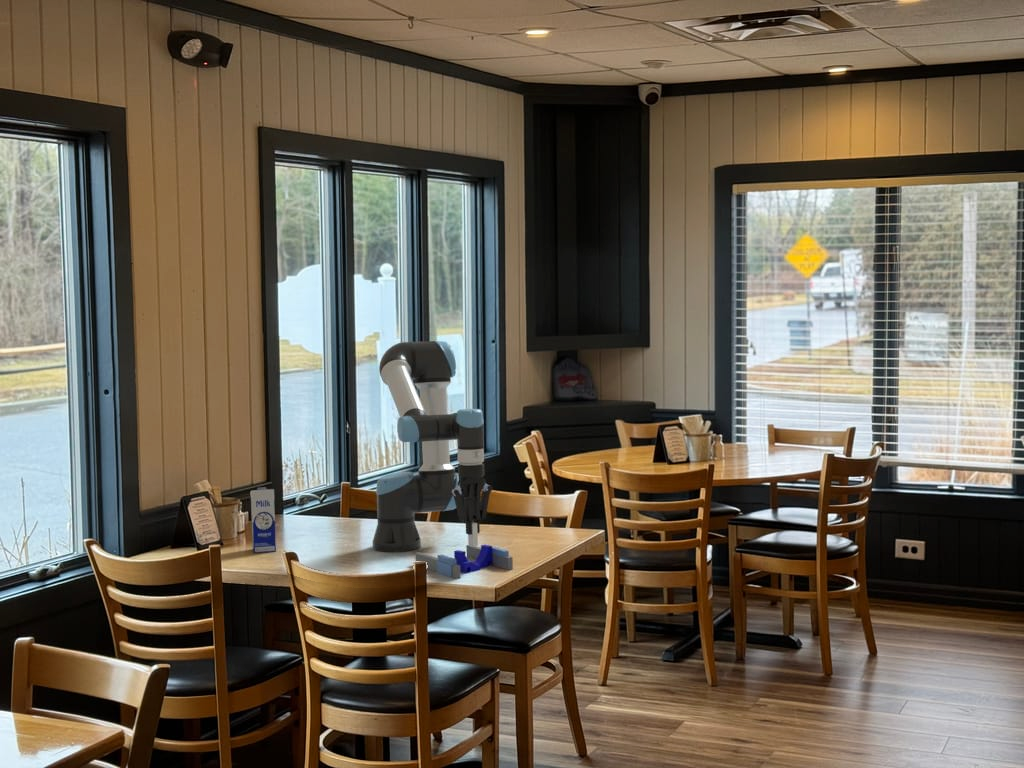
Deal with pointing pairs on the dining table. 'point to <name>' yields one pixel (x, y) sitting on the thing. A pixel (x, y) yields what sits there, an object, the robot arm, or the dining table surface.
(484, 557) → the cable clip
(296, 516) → the dining table surface
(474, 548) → the blue grey block group
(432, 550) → the dining table surface
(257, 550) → the milk carton
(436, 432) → the robot arm
